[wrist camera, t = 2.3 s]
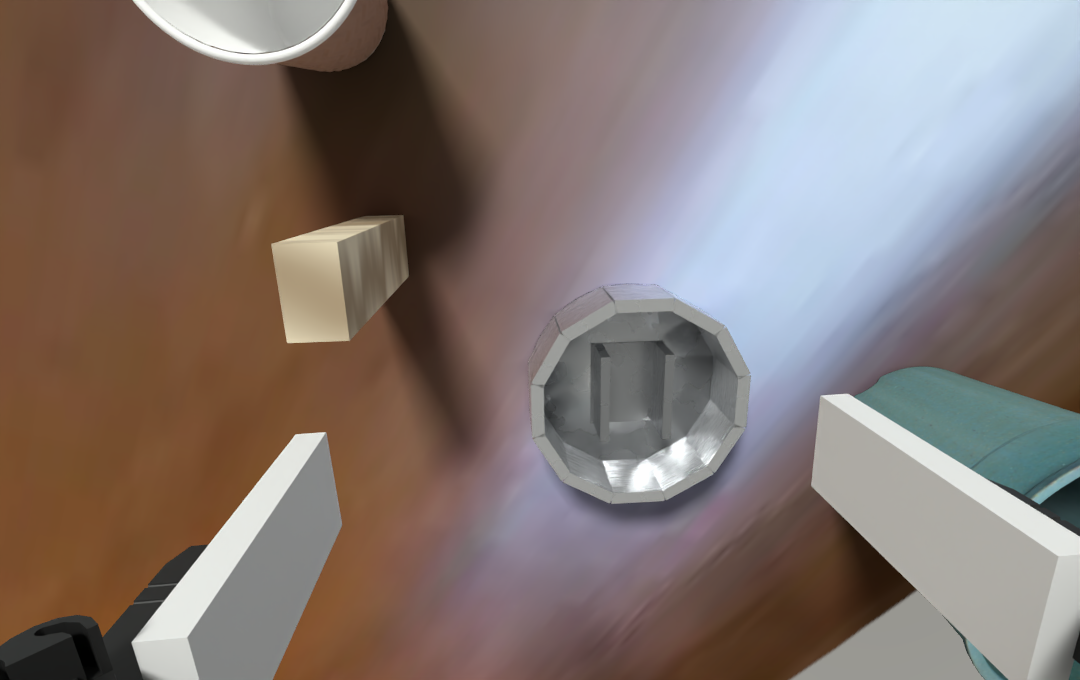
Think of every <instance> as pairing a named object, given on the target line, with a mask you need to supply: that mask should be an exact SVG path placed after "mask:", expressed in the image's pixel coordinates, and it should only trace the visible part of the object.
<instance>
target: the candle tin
mask: <svg viewBox="0 0 1080 680" xmlns="http://www.w3.org/2000/svg"><path fill="white" fill-rule="evenodd" d="M528 361H529V362H528V386H529V412H530V421H531V430H532V438H533V440H534V442H535V443H536V445H537V446H538V448H539V449H540V451H541V452H542V453H543V455H544V456H545V458H546V459H547V461H548V462H549V464H550V465H551V467H552V468H553V469H554V471H555V472H556V474H557V475H558V477H559V478H560V480H561V481H562V480H563V483H566V484H568V485H570V486H572V487H574V488H577V489H579V490H581V491H583V492H585V493H587V494H590V495H592V496H594V497H596V498H598V499H601V500H603V501H605V502H607V503H610V502H611V504H619V503H637V502H655V501H664V497H665V499H666V500H668V499H670V498H672V497H673V496H675V495H677V494H679V493H681V492H682V491H684V490H686V489H688V488H690V487H691V486H693V485H695V484H697V483H699V482H701V481H702V480H704V479H706V478H708V477H710V476H711V475H713V473H712V472H714V473H715V472H716V471H717V469H718V468H719V466H720V465H721V464H722V462H723V461H724V459H725V458H726V456H727V455H728V453H729V452H730V451H731V449H732V448H733V446H734V445H735V443H736V442H737V440H738V439H739V438H740V436H741V435H742V433H743V432H744V430H745V428H744V427H746V422H747V412H748V401H749V390H750V379H751V375H750V372H749V370H748V368H747V366H746V364H745V362H744V360H743V358H742V356H741V354H740V352H739V350H738V349H737V347H736V345H735V343H734V341H733V339H732V337H731V335H730V333H729V331H728V329H727V327H725V325H723V324H722V323H720V322H719V321H717V320H716V319H714V318H713V317H712V316H710V315H709V314H707V313H706V312H704V311H703V310H701V309H700V308H698V307H696V306H694V305H693V304H691V303H689V302H687V301H685V300H684V299H682V298H680V297H678V296H677V295H675V294H673V293H671V292H669V291H667V290H666V289H664V288H662V287H660V286H658V285H655V284H651V285H643V284H618V285H611V286H603V288H601V287H599V288H598V289H596V290H594V291H591V292H588V293H586V294H585V295H583V296H581V297H579V298H577V299H575V300H574V301H572V302H571V303H570V304H568V305H567V306H565V307H564V308H563V309H562V310H561V311H560V312H558V313H556V314H555V316H553V317H552V319H551V321H550V322H549V324H548V325H547V326H546V328H545V329H544V331H543V332H542V334H541V335H540V337H539V339H538V341H537V343H536V346H535V348H534V351H533V353H532V355H531V356H530V358H529V360H528Z"/></svg>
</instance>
